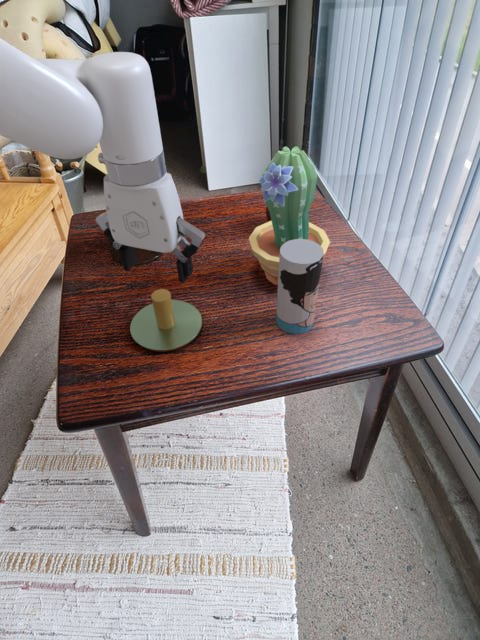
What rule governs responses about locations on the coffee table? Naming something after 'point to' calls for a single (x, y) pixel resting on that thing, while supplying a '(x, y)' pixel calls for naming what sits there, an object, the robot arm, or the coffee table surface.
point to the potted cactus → (286, 208)
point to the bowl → (142, 254)
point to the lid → (165, 323)
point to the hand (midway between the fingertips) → (158, 271)
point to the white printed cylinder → (298, 285)
